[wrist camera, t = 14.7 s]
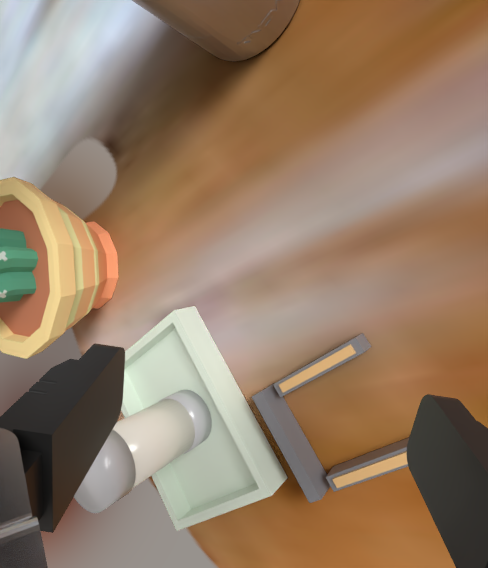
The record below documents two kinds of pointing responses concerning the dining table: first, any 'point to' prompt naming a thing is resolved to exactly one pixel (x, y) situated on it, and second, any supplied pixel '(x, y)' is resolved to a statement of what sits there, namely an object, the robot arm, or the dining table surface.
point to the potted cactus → (48, 268)
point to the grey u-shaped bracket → (297, 444)
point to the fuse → (144, 447)
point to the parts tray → (224, 413)
